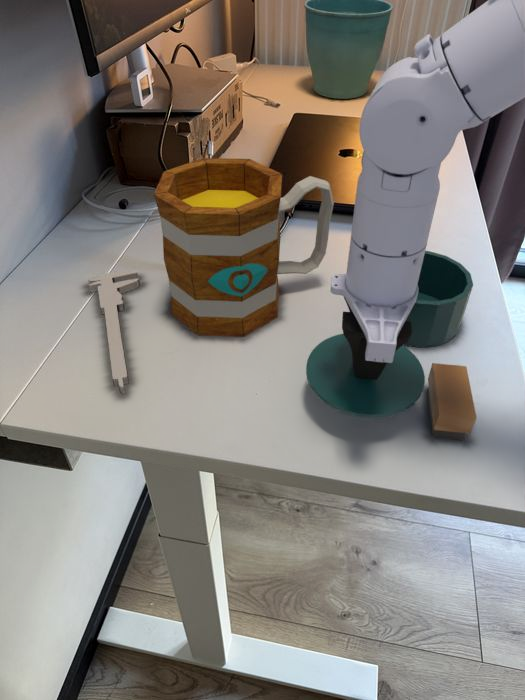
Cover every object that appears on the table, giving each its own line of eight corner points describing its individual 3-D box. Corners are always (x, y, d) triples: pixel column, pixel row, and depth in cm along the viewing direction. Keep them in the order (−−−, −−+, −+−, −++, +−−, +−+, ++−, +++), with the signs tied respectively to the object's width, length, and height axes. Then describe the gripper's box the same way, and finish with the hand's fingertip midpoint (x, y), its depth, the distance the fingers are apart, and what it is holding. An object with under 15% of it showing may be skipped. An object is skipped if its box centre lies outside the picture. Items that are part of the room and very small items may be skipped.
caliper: (141, 277, 69) (91, 280, 68) (140, 270, 68) (89, 273, 68) (127, 393, 54) (63, 398, 53) (125, 386, 53) (60, 391, 53)
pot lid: (418, 345, 55) (427, 308, 52) (427, 429, 47) (439, 392, 44) (310, 335, 56) (312, 299, 53) (300, 416, 48) (303, 379, 45)
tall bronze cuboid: (457, 391, 54) (466, 366, 52) (466, 442, 49) (476, 417, 47) (425, 387, 54) (432, 362, 52) (430, 438, 50) (438, 413, 47)
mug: (184, 350, 59) (167, 226, 48) (159, 281, 68) (141, 166, 58) (348, 312, 63) (364, 193, 53) (304, 253, 73) (310, 142, 63)
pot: (453, 294, 66) (465, 253, 62) (464, 351, 58) (479, 308, 54) (368, 288, 67) (375, 247, 63) (369, 342, 59) (376, 299, 55)
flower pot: (380, 81, 128) (392, -4, 116) (381, 107, 115) (394, 14, 103) (304, 77, 130) (308, -6, 119) (296, 102, 117) (300, 11, 105)
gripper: (339, 190, 47) (327, 313, 56) (331, 288, 36) (318, 420, 45) (422, 195, 46) (396, 319, 55) (439, 297, 35) (403, 429, 45)
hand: (366, 365), depth 50 cm, fingers closed on pot lid, 2 cm apart
